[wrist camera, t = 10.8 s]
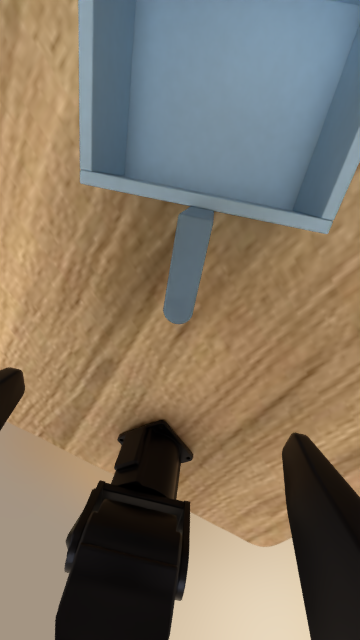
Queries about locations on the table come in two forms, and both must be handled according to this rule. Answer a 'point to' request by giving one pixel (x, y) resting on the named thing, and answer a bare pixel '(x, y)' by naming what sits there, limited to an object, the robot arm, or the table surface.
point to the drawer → (221, 113)
